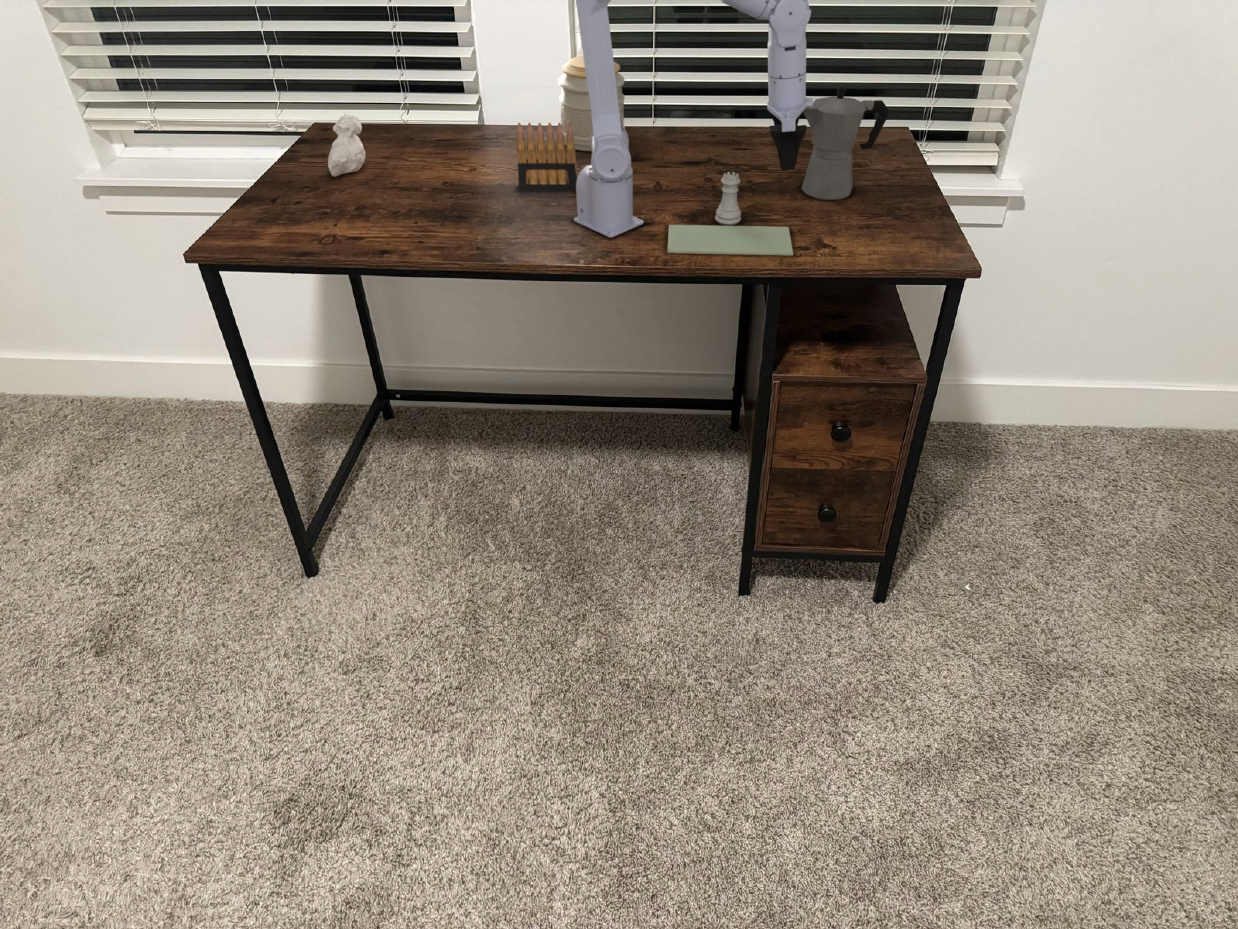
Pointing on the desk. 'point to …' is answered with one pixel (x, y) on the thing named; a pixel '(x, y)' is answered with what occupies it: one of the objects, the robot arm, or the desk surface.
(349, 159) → the white tied sack
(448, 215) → the desk surface
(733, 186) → the rook chess piece
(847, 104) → the coffeepot
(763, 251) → the mat
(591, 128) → the jar
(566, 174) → the ammunition clip
